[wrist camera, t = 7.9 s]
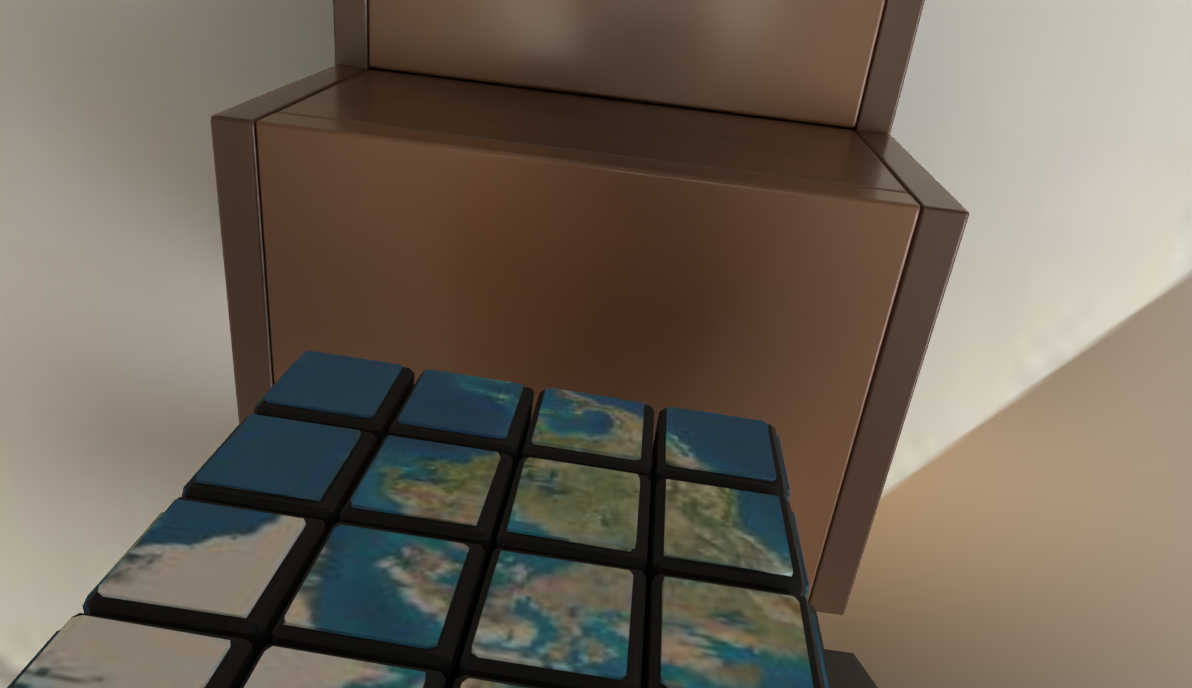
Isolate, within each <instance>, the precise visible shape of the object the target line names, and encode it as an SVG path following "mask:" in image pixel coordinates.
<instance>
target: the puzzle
mask: <svg viewBox="0 0 1192 688" xmlns="http://www.w3.org/2000/svg"><path fill="white" fill-rule="evenodd" d="M414 376H415V373H414V372H413V371H412V370H411V369H410V368H406V367H403V366H401V365H400V364H394V363H387V362H381V361H374V360H368V359H361V358H355V357H348V356H342V355H335V354H329V353H322V352H316V351H306V352H304V353H303V354H302V355H301V356H300V357H299V359H298V360H296V361H295V362H294V363H293V364H292V365H291V366H290V367H289V368H288V370H287V371H286V372H285V373H284V374H283V375H282V376H281V377H280V379H279V380H278V381H277V382H276V383H275V384H274V385H273V387H272V388H271V389H270V390H269V391H268V392H267V393H266V394H265V396H264V397H263V398H262V399H261V400H260V401H259V402H258V403H257V405H256V406H255V408H254V411H253V414H251V415H250V416H248V417H246V418H245V419H244V421H243V422H242V423H241V424H240V425H238V426H237V427H236V429H235V430H234V431H233V432H232V433H231V434H230V435H229V437H228V438H227V439H226V440H225V441H224V442H223V443H222V444H221V446H220V447H219V448H218V449H217V450H216V451H215V452H214V453H213V455H212V456H211V457H210V458H209V459H208V460H207V461H206V463H205V464H204V465H203V466H202V467H201V468H200V469H199V470H198V472H197V473H196V474H195V475H194V476H193V477H192V478H191V480H190V481H189V482H188V483H187V484H186V485H185V486H184V488H183V493H182V497H179V498H178V499H176V500H175V501H174V502H173V503H172V504H171V505H170V506H169V507H168V509H167V510H166V511H165V512H162V513H161V514H160V515H159V516H158V517H157V518H156V519H155V520H154V522H153V523H152V524H151V525H150V526H149V527H148V528H147V529H146V531H145V532H144V533H143V534H142V535H141V536H140V537H139V539H138V540H137V541H136V542H135V543H134V544H133V545H132V546H131V548H130V549H129V550H128V551H127V552H126V553H125V554H124V555H123V557H122V558H121V559H120V560H119V561H118V562H117V563H116V565H115V566H114V567H113V568H112V569H111V570H110V571H109V572H108V574H107V575H106V576H105V577H104V578H103V579H102V580H101V581H100V583H99V584H98V585H97V586H96V587H95V588H94V589H93V590H92V592H91V593H90V594H89V595H88V596H87V598H86V600H85V602H84V604H83V610H84V614H83V613H79V614H77V615H75V616H73V617H72V618H71V619H70V620H69V621H68V622H67V623H66V624H65V626H64V627H63V628H62V629H61V630H59V631H57V632H56V633H55V634H54V635H53V636H52V637H51V639H50V640H49V641H48V642H47V643H46V644H45V645H44V647H43V648H42V649H41V650H40V651H39V652H38V653H37V654H36V656H35V657H34V658H33V659H32V660H31V661H30V662H29V664H28V665H27V666H26V667H25V668H24V669H23V670H22V671H21V673H20V674H19V675H18V676H17V677H16V678H15V679H14V681H13V682H12V683H11V684H10V685H9V686H8V687H7V688H829V686H828V681H827V676H826V671H825V666H824V661H823V656H822V651H821V646H820V641H819V636H818V631H817V626H816V621H815V616H814V614H811V611H810V606H809V603H808V601H807V600H806V599H807V596H808V593H809V583H808V579H807V574H806V569H805V564H804V559H803V554H802V549H801V545H800V540H799V535H798V530H797V525H796V520H795V516H794V512H793V511H791V507H790V502H789V501H788V500H789V496H790V488H789V483H788V478H787V473H786V468H785V463H784V458H783V453H782V448H781V443H780V438H779V436H777V434H776V429H775V428H774V427H773V426H772V425H771V424H767V423H766V422H764V421H761V420H755V419H749V418H742V417H736V416H729V415H723V414H717V413H710V412H704V411H697V410H691V409H684V408H678V407H667V408H664V409H663V410H661V411H660V412H659V416H658V421H657V427H656V432H655V437H654V442H653V428H654V409H653V408H652V407H651V406H650V405H645V404H644V403H642V402H636V401H630V400H623V399H617V398H611V397H605V396H599V395H592V394H586V393H580V392H574V391H568V390H561V389H555V388H547V389H544V390H543V391H541V392H540V393H539V396H538V399H537V403H536V406H535V410H534V413H533V416H532V408H533V399H534V391H533V390H532V389H531V388H529V387H523V384H519V383H513V382H507V381H501V380H495V379H488V378H482V377H476V376H470V375H464V374H458V373H451V372H445V371H439V370H433V369H429V370H425V371H423V372H422V373H421V374H420V376H419V378H418V379H417V381H416V383H415V385H414ZM531 417H532V420H531Z"/></svg>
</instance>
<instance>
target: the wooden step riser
mask: <svg viewBox="0 0 1192 688" xmlns="http://www.w3.org/2000/svg"><path fill="white" fill-rule="evenodd" d="M924 1H925V0H333V11H334V45H335V66H333V67H330V68H328V69H325V70H323V71H321V72H318V73H316V74H313V75H311V76H308V77H306V78H303V79H301V80H298V81H296V82H293V83H291V84H289V85H286V86H284V87H281V88H279V89H276V90H274V91H271V92H269V93H266V94H264V95H261V96H259V97H257V98H254V99H252V100H249V101H247V102H244V103H242V104H239V105H237V106H234V107H232V108H229V109H227V110H225V111H222V112H220V113H217V114H215V115H212V117H211V129H212V140H213V151H214V161H215V172H216V183H217V193H218V204H219V215H220V225H221V236H222V246H223V257H224V268H225V278H226V289H227V300H228V310H229V321H230V332H231V342H232V353H233V364H234V374H235V385H236V395H237V406H238V417H239V425H240V424H241V423H242V422H243V421H244V419H245V418H246V417H248V416H250V415H251V414H253V411H254V408H255V406H256V405H257V403H258V402H259V401H260V400H261V399H262V398H263V397H264V396H265V394H266V393H267V392H268V391H269V390H270V389H271V388H272V387H273V385H274V384H275V383H276V382H277V381H278V380H279V379H280V377H281V376H282V375H283V374H284V373H285V372H286V371H287V370H288V368H289V367H290V366H291V365H292V364H293V363H294V362H295V361H296V360H298V359H299V357H300V356H301V355H302V354H303V353H304V352H306V351H316V352H322V353H329V354H335V355H342V356H348V357H355V358H361V359H368V360H374V361H381V362H387V363H394V364H400V365H401V366H403V367H406V368H410V369H411V370H412V371H413V372H414V373H415V376H414V385H415V383H416V381H417V379H418V378H419V376H420V374H421V373H422V372H423V371H425V370H429V369H433V370H439V371H445V372H451V373H458V374H464V375H470V376H476V377H482V378H488V379H495V380H501V381H507V382H513V383H519V384H523V387H529V388H531V389H532V390H533V391H534V399H533V408H532V416H533V413H534V410H535V406H536V403H537V399H538V396H539V393H540V392H541V391H543V390H544V389H547V388H555V389H561V390H568V391H574V392H580V393H586V394H592V395H599V396H605V397H611V398H617V399H623V400H630V401H636V402H642V403H644V404H645V405H650V406H651V407H652V408H653V409H654V428H653V442H654V437H655V432H656V427H657V421H658V416H659V412H660V411H661V410H663V409H664V408H667V407H678V408H684V409H691V410H697V411H704V412H710V413H717V414H723V415H729V416H736V417H742V418H749V419H755V420H761V421H764V422H766V423H767V424H771V425H772V426H773V427H774V428H775V429H776V434H777V436H779V438H780V443H781V448H782V453H783V458H784V463H785V468H786V473H787V478H788V483H789V488H790V496H789V500H788V501H789V502H790V507H791V511H793V512H794V516H795V520H796V525H797V530H798V535H799V540H800V545H801V549H802V554H803V559H804V564H805V569H806V574H807V579H808V583H809V593H808V596H807V599H806V600H807V601H808V603H809V604H812V605H813V606H814V607H815V610H816V611H817V612H824V613H831V614H838V615H843V614H844V612H845V609H846V606H847V602H848V599H849V596H850V593H851V590H852V586H853V583H854V580H855V577H856V573H857V570H858V567H859V564H860V561H861V557H862V554H863V551H864V548H865V545H866V542H867V538H868V535H869V532H870V529H871V526H872V523H873V519H874V516H875V513H876V509H877V506H878V503H879V500H880V497H881V494H882V491H883V487H884V484H885V481H886V478H887V475H888V471H889V468H890V465H891V462H892V459H893V456H894V452H895V449H896V446H897V443H898V440H899V436H900V433H901V430H902V427H903V424H904V420H905V417H906V414H907V411H908V408H909V404H910V401H911V398H912V395H913V392H914V389H915V385H916V382H917V379H918V376H919V373H920V369H921V366H922V363H923V360H924V357H925V353H926V350H927V347H928V344H929V341H930V337H931V334H932V331H933V328H934V325H935V322H936V318H937V315H938V312H939V309H940V306H941V302H942V299H943V296H944V293H945V290H946V286H947V283H948V280H949V277H950V274H951V270H952V267H953V264H954V261H955V258H956V255H957V251H958V248H959V245H960V242H961V239H962V235H963V232H964V229H965V226H966V223H967V219H968V216H969V212H968V211H967V210H966V209H965V208H964V207H963V206H962V205H961V204H960V203H959V202H958V201H957V200H956V199H955V198H954V197H953V196H952V195H951V194H950V193H949V192H948V191H947V190H946V189H945V188H944V187H943V186H941V185H940V184H939V183H938V182H937V181H936V180H935V179H934V178H933V177H932V176H931V175H930V174H929V173H928V172H927V171H926V170H925V169H924V168H923V167H922V166H921V165H920V164H919V163H918V162H917V161H916V160H915V159H914V158H913V157H912V156H911V155H910V154H909V153H908V152H907V151H906V150H905V149H904V148H903V147H902V146H901V145H900V144H899V143H898V142H897V141H896V140H895V139H894V138H893V137H892V136H891V135H890V132H891V128H892V124H893V121H894V117H895V113H896V109H897V105H898V101H899V97H900V94H901V90H902V86H903V82H904V78H905V74H906V70H907V66H908V63H909V59H910V55H911V51H912V47H913V43H914V39H915V36H916V32H917V28H918V24H919V20H920V16H921V12H922V9H923V5H924ZM423 75H430V76H438V77H446V78H454V79H462V80H470V81H478V82H486V83H494V84H502V85H510V86H518V87H526V88H534V89H542V90H550V91H558V92H566V93H574V94H582V95H590V96H598V97H606V98H614V99H622V100H630V101H638V102H646V103H654V104H662V105H670V106H678V107H686V108H694V109H702V110H710V111H718V112H726V113H734V114H742V115H750V116H758V117H766V118H774V119H781V120H789V121H797V122H805V123H813V124H816V125H809V124H801V123H793V122H785V121H777V120H769V119H761V118H753V117H745V116H737V115H729V114H721V113H713V112H705V111H697V110H689V109H681V108H673V107H665V106H657V105H649V104H641V103H633V102H625V101H617V100H609V99H601V98H593V97H585V96H577V95H569V94H561V93H553V92H545V91H538V90H530V89H522V88H514V87H506V86H498V85H490V84H482V83H474V82H466V81H458V80H450V79H442V78H434V77H426V76H423ZM531 420H532V417H531Z"/></svg>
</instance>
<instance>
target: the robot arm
mask: <svg viewBox="0 0 1192 688" xmlns="http://www.w3.org/2000/svg"><path fill="white" fill-rule="evenodd" d="M809 606H810V611H811V614H814V616H815V621H816V626H817V631H818V636H819V641H820V646H821V651H822V656H823V661H824V666H825V671H826V676H827V681H828V686H829V688H878V687H877V686H876V685H875V683H874V682H873V680H872V679H871V677H870V676H869V675H868V673H867V672H866V670H865V669H864V668H863V666H862V665H861V663H860V662H859V661H858V659H857V658H856V656H855V655H854V654H853V653H847V652H840V651H832V650H826V649H824V647H823V642H822V637H821V632H820V627H819V623H818V617H817V613H816V610H815V607H814V606H813V605H812V604H809Z"/></svg>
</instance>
